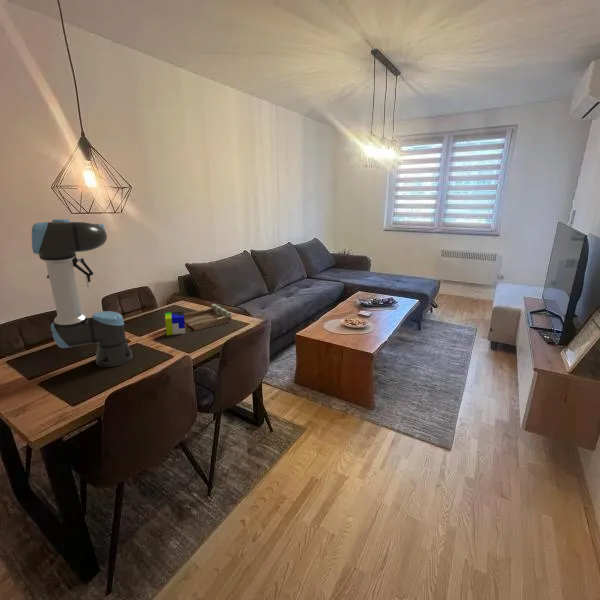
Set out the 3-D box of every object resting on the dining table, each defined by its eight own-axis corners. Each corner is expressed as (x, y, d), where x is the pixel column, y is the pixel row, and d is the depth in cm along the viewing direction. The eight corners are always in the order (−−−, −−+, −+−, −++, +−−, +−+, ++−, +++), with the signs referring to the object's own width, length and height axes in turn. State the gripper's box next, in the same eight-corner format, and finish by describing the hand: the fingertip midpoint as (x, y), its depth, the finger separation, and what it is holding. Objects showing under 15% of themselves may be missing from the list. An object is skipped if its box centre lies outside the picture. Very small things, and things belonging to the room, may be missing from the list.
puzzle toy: (185, 333, 188) (184, 317, 185) (166, 335, 184) (165, 318, 181) (184, 327, 196) (183, 311, 194) (166, 329, 193) (165, 313, 190)
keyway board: (231, 321, 207) (230, 312, 205) (195, 330, 192) (194, 320, 190) (214, 312, 223) (214, 303, 221) (180, 320, 207) (179, 310, 206)
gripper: (94, 247, 178) (100, 285, 185) (36, 250, 166) (45, 290, 172) (94, 249, 172) (100, 288, 178) (34, 252, 160) (43, 294, 166)
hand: (73, 289), depth 175 cm, fingers open, 13 cm apart
